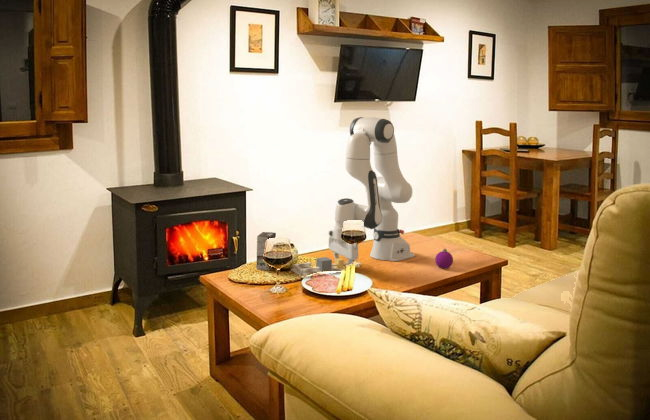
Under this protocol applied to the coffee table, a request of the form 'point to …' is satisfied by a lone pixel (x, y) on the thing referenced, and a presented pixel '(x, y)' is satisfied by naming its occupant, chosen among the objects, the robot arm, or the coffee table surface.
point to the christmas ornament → (444, 259)
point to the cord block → (328, 263)
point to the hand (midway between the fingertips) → (342, 264)
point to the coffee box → (260, 249)
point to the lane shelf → (309, 269)
